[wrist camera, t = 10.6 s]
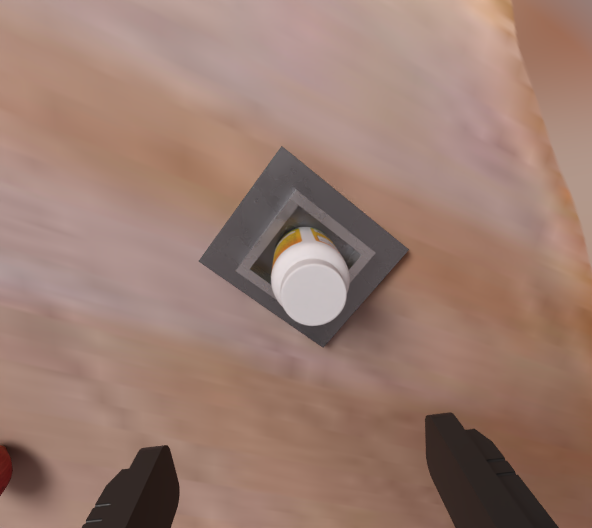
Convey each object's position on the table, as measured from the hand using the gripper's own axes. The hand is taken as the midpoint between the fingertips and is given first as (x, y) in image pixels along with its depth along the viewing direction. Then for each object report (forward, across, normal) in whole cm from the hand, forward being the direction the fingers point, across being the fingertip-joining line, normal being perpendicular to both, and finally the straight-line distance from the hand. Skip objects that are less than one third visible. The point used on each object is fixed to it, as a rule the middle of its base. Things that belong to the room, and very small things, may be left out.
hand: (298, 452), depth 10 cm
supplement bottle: (+20, -1, -1) cm, 20 cm away
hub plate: (+21, -1, -2) cm, 21 cm away
